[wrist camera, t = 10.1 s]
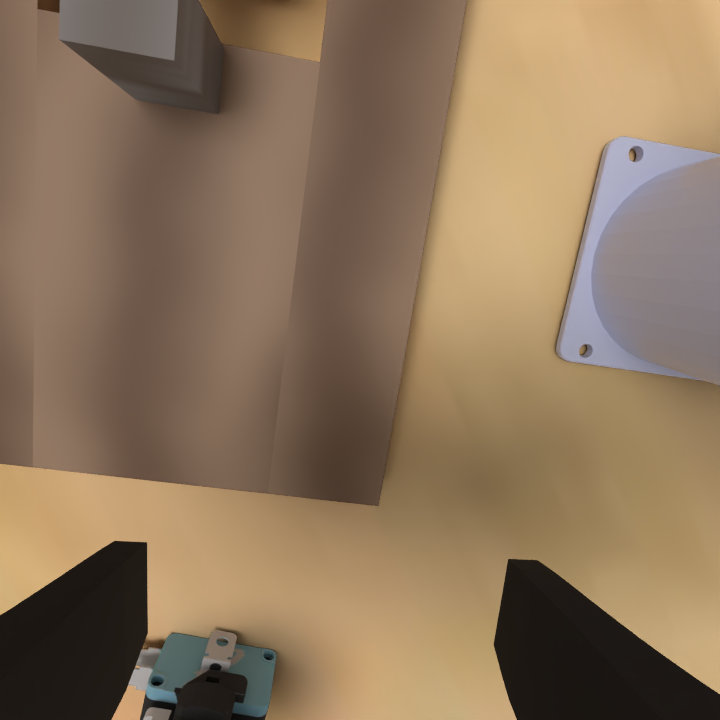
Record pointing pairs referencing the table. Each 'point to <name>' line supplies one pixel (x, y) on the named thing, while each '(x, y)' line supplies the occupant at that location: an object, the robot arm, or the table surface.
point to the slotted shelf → (213, 240)
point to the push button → (205, 679)
